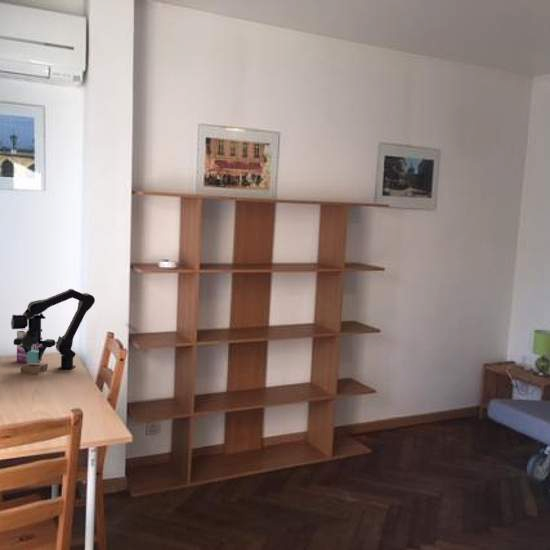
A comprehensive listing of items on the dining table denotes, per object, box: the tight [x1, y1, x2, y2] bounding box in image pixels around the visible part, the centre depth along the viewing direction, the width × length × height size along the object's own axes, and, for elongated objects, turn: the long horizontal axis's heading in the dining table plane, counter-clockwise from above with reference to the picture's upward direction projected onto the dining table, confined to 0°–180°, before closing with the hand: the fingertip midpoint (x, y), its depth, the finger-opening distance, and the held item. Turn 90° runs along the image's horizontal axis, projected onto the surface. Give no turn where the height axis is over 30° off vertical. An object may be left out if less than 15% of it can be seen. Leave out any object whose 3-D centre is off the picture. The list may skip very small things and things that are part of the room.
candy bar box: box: [16, 328, 40, 364], centre depth 308 cm, size 11×5×16 cm, turn 73°
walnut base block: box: [20, 362, 49, 375], centre depth 293 cm, size 9×9×3 cm
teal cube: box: [26, 350, 43, 364], centre depth 292 cm, size 5×5×5 cm
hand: (34, 359), depth 292 cm, fingers closed on teal cube, 5 cm apart
